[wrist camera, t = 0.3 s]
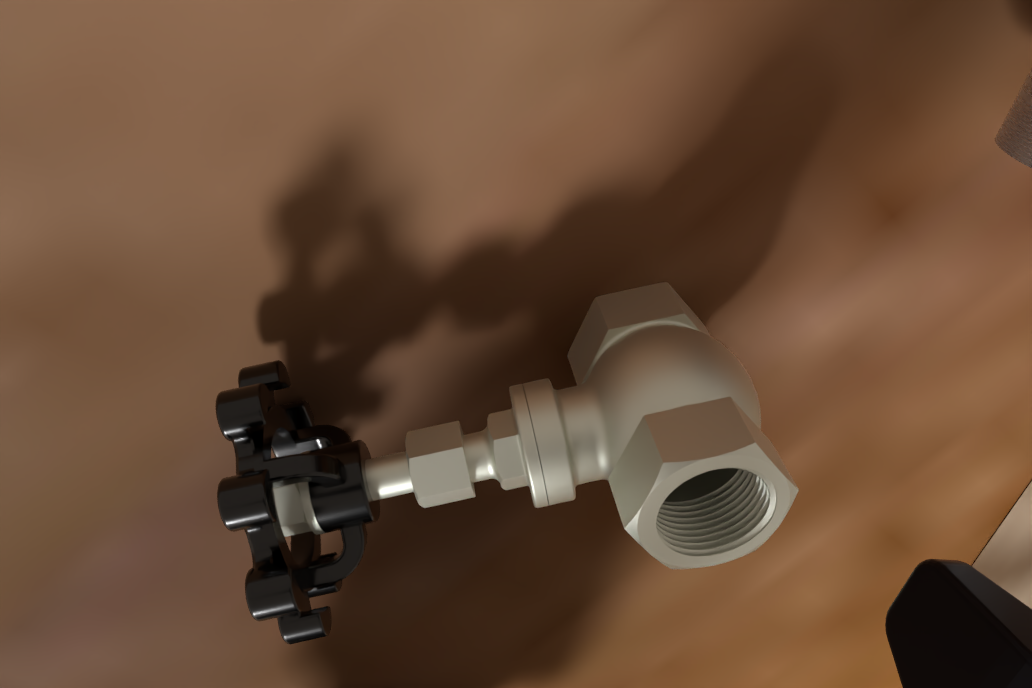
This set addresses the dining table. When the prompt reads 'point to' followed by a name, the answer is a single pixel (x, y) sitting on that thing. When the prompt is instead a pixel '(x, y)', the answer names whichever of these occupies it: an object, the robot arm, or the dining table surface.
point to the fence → (1011, 552)
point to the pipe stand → (1018, 126)
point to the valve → (518, 457)
